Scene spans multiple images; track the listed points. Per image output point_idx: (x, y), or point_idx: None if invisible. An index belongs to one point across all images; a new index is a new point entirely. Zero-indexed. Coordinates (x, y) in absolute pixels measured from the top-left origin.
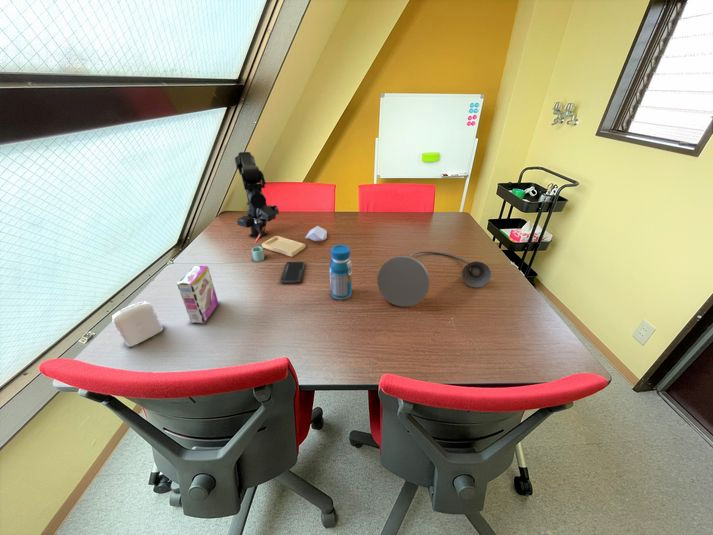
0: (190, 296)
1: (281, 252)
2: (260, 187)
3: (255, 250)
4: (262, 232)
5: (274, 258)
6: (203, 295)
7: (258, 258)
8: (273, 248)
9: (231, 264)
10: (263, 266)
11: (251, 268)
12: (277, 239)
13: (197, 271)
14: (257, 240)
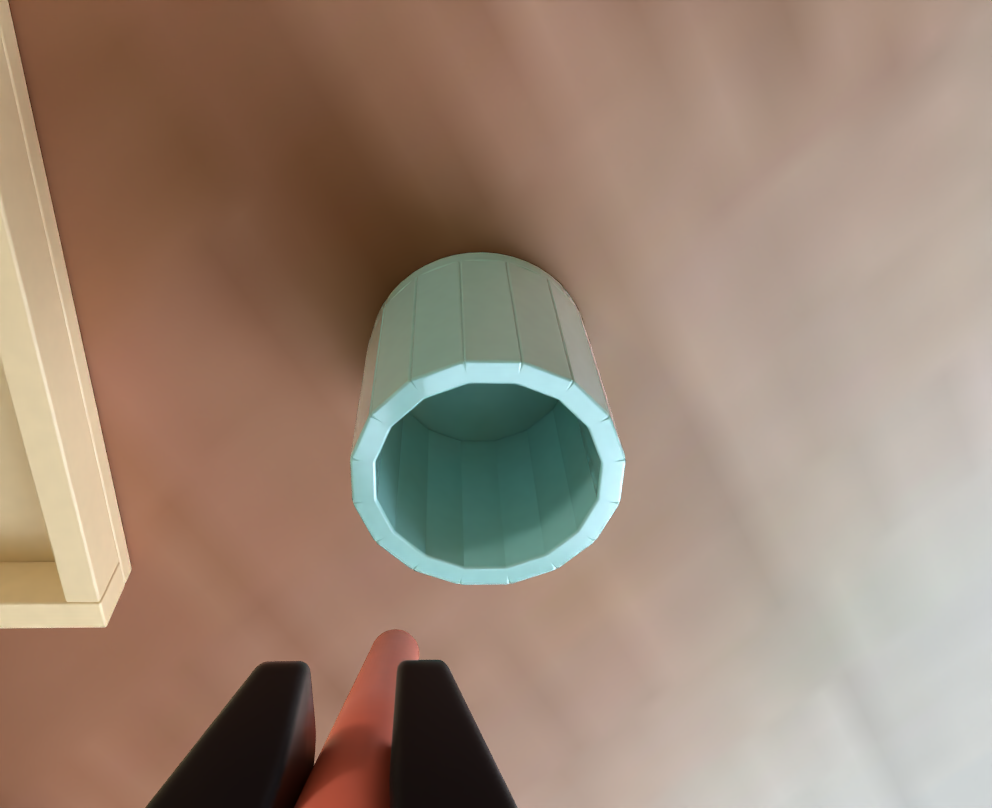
0: None
1: (7, 66)
2: None
3: (456, 514)
4: (304, 753)
5: (298, 62)
6: None
7: (568, 311)
8: (48, 328)
9: (837, 580)
10: (701, 44)
11: (854, 217)
12: None
13: None
14: (399, 647)
